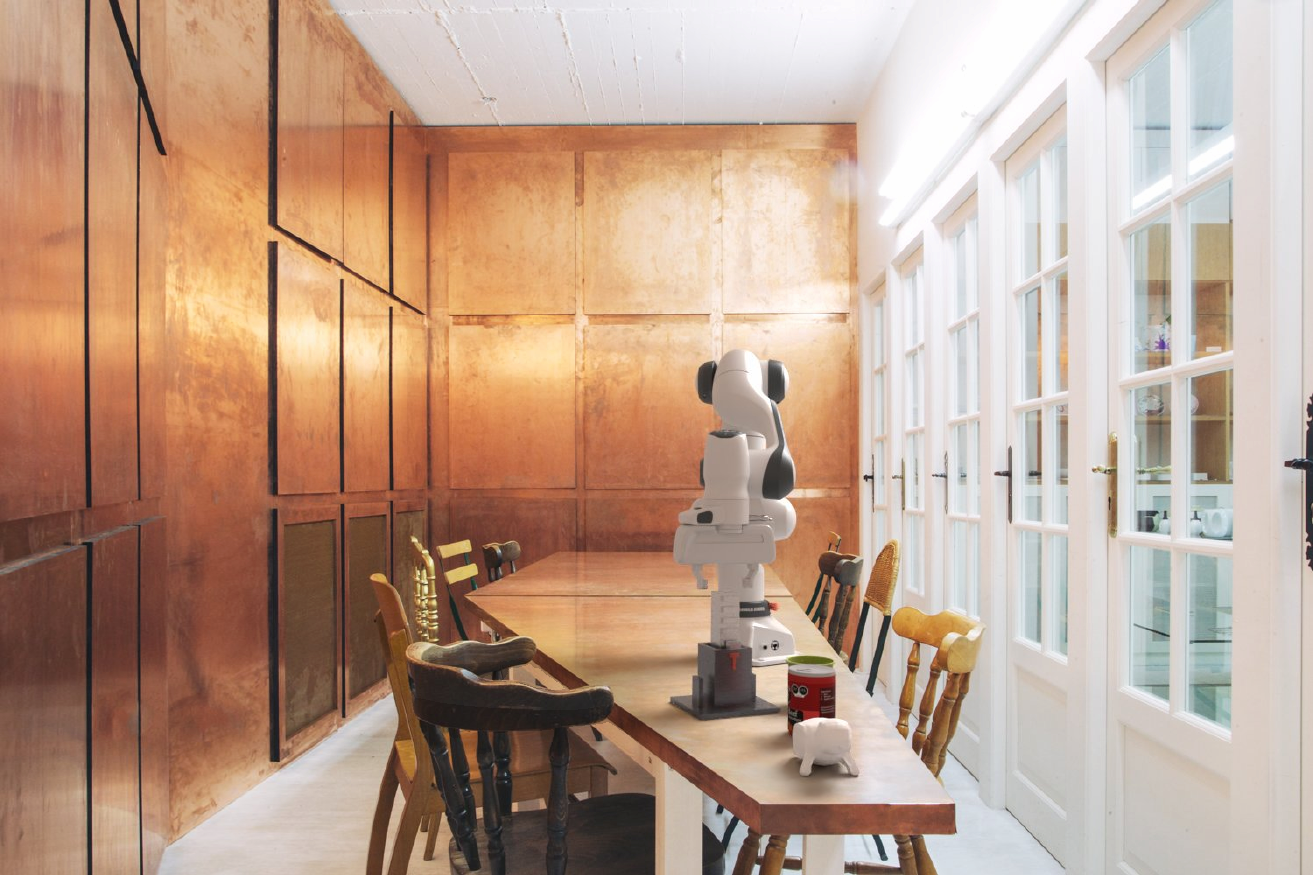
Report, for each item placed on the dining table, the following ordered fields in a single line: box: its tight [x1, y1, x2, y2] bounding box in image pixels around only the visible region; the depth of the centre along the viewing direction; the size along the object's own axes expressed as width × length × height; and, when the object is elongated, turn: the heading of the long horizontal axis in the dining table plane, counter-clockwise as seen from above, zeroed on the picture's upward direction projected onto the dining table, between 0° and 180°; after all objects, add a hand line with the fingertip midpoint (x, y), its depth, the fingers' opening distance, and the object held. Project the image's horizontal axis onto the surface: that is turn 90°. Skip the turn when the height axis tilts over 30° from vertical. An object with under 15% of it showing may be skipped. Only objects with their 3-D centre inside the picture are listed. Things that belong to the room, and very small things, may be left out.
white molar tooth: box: [792, 718, 861, 777], centre depth 131 cm, size 9×8×15 cm
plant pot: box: [786, 654, 837, 669], centre depth 169 cm, size 9×9×9 cm
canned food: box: [787, 664, 837, 737], centre depth 150 cm, size 8×8×11 cm
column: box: [710, 590, 739, 649], centre depth 167 cm, size 4×5×20 cm
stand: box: [669, 640, 781, 721], centre depth 167 cm, size 16×14×13 cm
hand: (725, 588), depth 168 cm, fingers open, 8 cm apart
